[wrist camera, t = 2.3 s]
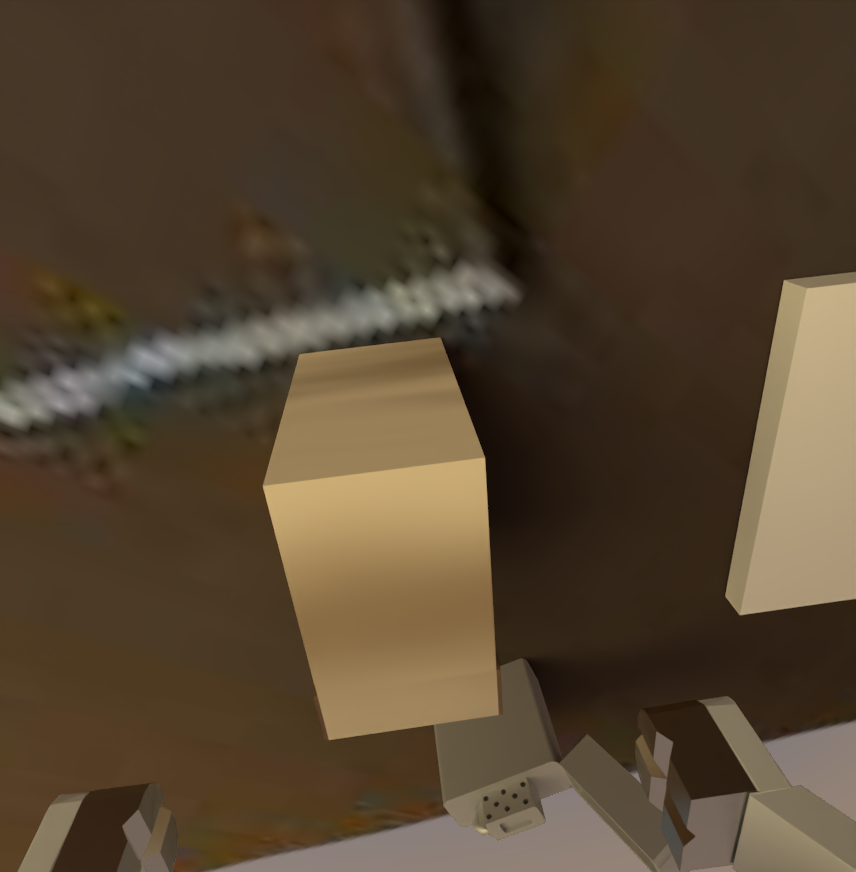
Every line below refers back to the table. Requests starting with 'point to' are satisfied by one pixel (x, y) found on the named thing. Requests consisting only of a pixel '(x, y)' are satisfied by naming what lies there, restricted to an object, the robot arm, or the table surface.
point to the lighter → (538, 773)
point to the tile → (803, 458)
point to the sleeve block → (386, 539)
